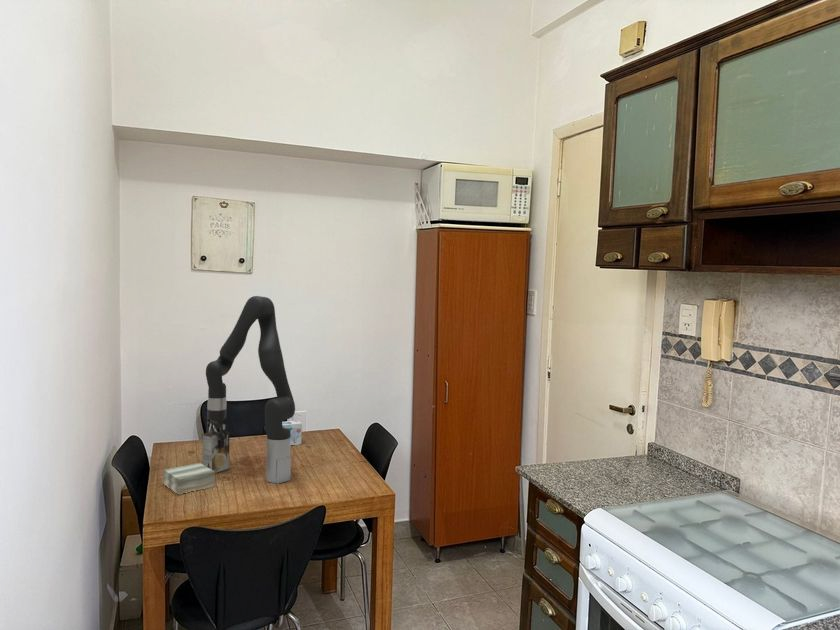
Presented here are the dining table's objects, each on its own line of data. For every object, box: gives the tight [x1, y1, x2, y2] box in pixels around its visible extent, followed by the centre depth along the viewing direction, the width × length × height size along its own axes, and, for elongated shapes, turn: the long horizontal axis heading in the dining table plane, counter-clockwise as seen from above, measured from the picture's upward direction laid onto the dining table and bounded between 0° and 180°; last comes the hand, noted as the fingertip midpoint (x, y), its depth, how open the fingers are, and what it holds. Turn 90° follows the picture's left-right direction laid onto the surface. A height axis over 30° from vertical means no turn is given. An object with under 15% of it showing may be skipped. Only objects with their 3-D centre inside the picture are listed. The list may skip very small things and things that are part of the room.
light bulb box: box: [282, 419, 303, 447], centre depth 286 cm, size 11×7×11 cm, turn 118°
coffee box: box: [201, 430, 231, 474], centre depth 245 cm, size 9×6×16 cm
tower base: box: [163, 462, 216, 495], centre depth 226 cm, size 14×14×6 cm
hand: (216, 445), depth 245 cm, fingers open, 8 cm apart
